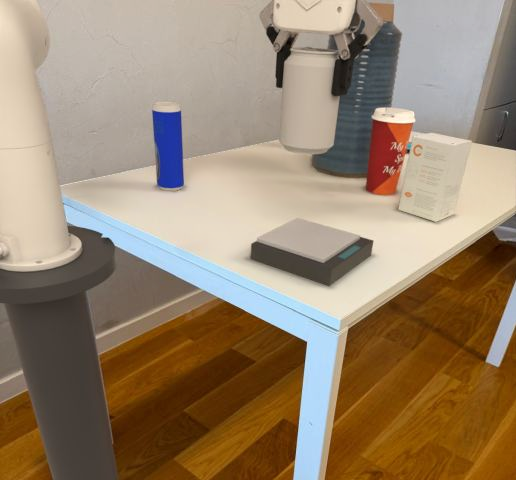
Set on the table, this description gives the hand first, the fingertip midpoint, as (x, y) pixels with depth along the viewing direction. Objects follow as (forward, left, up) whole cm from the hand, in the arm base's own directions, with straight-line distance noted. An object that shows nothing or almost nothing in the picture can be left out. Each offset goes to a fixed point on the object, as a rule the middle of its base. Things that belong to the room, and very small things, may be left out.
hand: (311, 90), depth 65 cm
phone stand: (+71, +14, -22) cm, 76 cm away
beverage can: (+8, +34, -22) cm, 41 cm away
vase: (+46, +15, -22) cm, 53 cm away
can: (0, 0, -7) cm, 7 cm away
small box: (+29, -10, -22) cm, 38 cm away
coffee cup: (+36, +2, -22) cm, 42 cm away
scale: (-2, -4, -22) cm, 22 cm away
